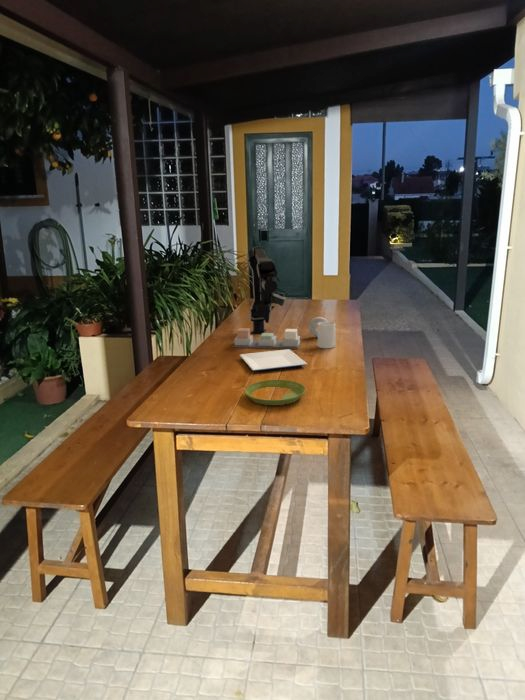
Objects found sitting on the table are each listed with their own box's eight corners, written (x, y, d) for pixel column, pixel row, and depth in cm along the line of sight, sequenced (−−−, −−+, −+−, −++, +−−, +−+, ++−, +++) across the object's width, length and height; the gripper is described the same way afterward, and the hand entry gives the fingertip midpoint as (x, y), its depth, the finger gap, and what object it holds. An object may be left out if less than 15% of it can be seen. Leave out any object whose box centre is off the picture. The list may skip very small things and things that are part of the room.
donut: (308, 338, 261) (308, 317, 258) (308, 336, 264) (308, 316, 261) (329, 338, 260) (329, 317, 257) (329, 336, 263) (329, 316, 260)
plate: (252, 374, 212) (252, 369, 212) (239, 358, 233) (239, 354, 232) (307, 368, 218) (307, 363, 217) (289, 353, 239) (289, 348, 238)
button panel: (239, 341, 259) (238, 333, 258) (300, 343, 253) (300, 335, 252) (234, 347, 249) (233, 339, 248) (297, 349, 244) (297, 340, 243)
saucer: (317, 395, 189) (317, 386, 188) (279, 414, 174) (278, 405, 173) (272, 383, 202) (272, 375, 201) (232, 399, 187) (232, 391, 187)
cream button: (286, 337, 251) (286, 328, 250) (297, 337, 250) (297, 329, 249) (284, 340, 246) (284, 331, 245) (295, 340, 245) (295, 331, 244)
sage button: (263, 341, 254) (262, 332, 253) (273, 341, 253) (273, 333, 252) (260, 344, 249) (260, 335, 248) (271, 344, 248) (271, 335, 247)
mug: (333, 349, 242) (333, 325, 239) (316, 348, 244) (316, 325, 241) (338, 341, 253) (338, 319, 250) (321, 341, 255) (321, 319, 252)
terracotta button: (239, 336, 255) (239, 328, 254) (250, 336, 254) (249, 328, 253) (237, 339, 251) (236, 330, 249) (247, 339, 250) (247, 330, 248)
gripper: (280, 292, 235) (281, 328, 240) (287, 285, 253) (288, 318, 257) (255, 292, 237) (256, 327, 242) (263, 285, 255) (264, 317, 259)
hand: (267, 322), depth 250 cm, fingers closed
